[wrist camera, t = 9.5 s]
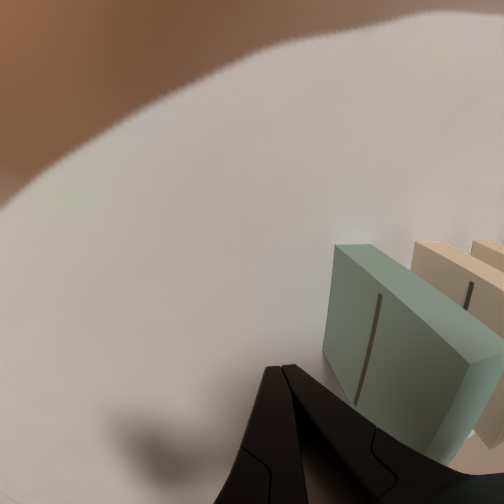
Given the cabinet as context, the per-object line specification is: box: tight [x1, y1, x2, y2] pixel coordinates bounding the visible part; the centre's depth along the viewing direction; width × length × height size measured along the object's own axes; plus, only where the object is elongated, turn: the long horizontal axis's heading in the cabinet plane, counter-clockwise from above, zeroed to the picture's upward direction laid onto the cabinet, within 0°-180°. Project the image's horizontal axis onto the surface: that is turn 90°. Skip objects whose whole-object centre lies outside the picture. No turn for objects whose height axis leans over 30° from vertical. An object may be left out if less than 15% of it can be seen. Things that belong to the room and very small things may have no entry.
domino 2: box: [411, 241, 504, 450], centre depth 10 cm, size 2×5×8 cm, turn 0°
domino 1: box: [322, 244, 504, 466], centre depth 9 cm, size 2×5×8 cm, turn 0°
